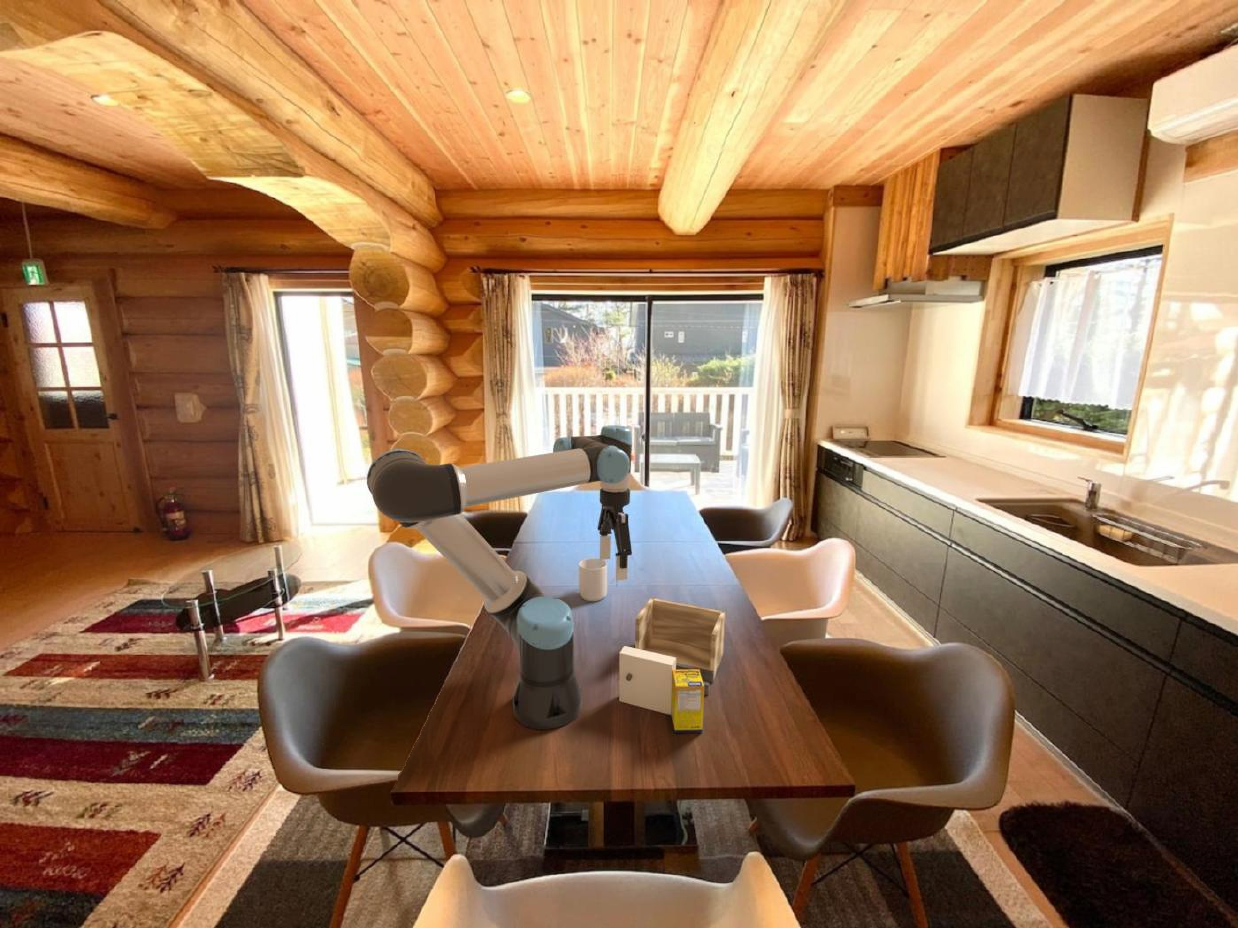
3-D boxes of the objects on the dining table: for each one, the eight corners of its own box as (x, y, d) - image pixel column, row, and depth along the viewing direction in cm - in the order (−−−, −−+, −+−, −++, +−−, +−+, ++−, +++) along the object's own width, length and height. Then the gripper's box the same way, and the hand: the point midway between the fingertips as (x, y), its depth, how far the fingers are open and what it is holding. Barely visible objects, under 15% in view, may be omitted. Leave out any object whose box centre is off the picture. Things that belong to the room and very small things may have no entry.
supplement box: (697, 713, 112) (699, 668, 110) (702, 733, 106) (705, 686, 104) (670, 713, 112) (671, 668, 110) (674, 733, 106) (675, 686, 104)
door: (669, 717, 111) (670, 667, 108) (617, 703, 115) (617, 655, 112) (674, 706, 114) (676, 657, 112) (624, 692, 119) (624, 645, 116)
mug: (604, 603, 161) (604, 570, 158) (576, 601, 162) (576, 568, 160) (610, 586, 172) (610, 555, 170) (584, 584, 174) (583, 553, 171)
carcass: (708, 695, 118) (710, 647, 115) (626, 674, 125) (626, 629, 123) (723, 653, 134) (725, 611, 132) (650, 638, 141) (651, 597, 139)
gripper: (647, 500, 118) (644, 587, 122) (613, 476, 141) (611, 550, 145) (616, 502, 115) (614, 591, 120) (587, 477, 138) (585, 552, 143)
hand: (612, 568), depth 132 cm, fingers open, 13 cm apart
